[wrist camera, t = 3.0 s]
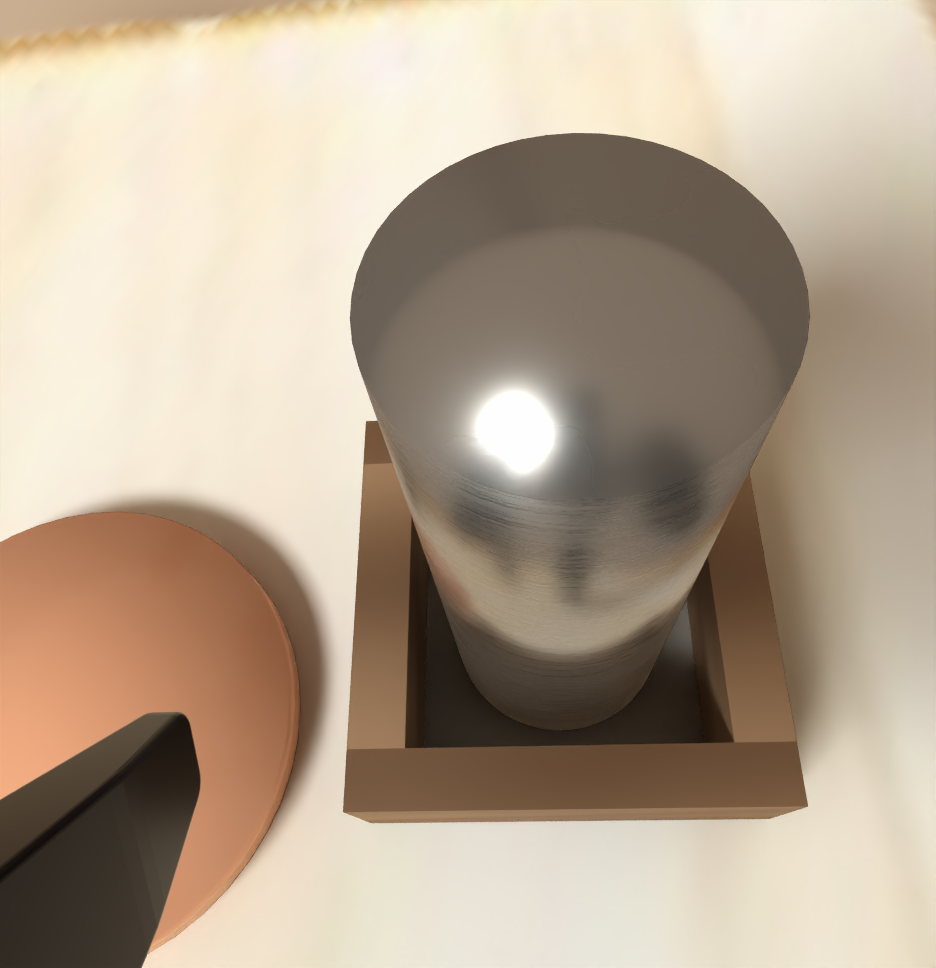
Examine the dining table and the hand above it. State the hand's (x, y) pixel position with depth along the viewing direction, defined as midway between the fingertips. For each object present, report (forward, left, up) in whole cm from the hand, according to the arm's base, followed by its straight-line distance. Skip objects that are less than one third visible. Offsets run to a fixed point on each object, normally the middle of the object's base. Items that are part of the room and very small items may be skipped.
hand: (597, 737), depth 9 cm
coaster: (-6, +10, -11) cm, 16 cm away
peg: (+3, +3, -11) cm, 12 cm away
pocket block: (+3, +3, -11) cm, 12 cm away
